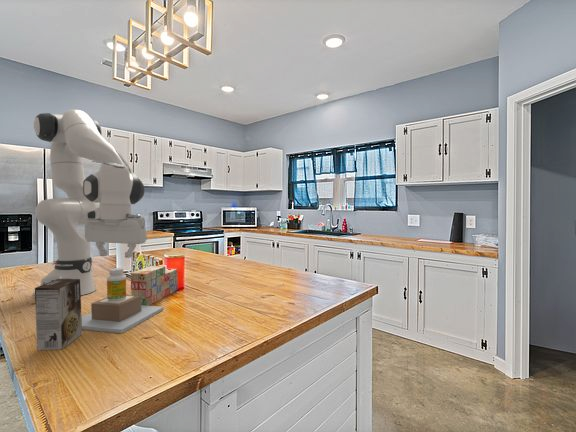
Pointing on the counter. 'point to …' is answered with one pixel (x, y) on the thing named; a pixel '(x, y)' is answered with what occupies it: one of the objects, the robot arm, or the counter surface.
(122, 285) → the supplement bottle
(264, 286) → the counter surface
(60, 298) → the coffee box
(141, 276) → the stack of blocks
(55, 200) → the robot arm
